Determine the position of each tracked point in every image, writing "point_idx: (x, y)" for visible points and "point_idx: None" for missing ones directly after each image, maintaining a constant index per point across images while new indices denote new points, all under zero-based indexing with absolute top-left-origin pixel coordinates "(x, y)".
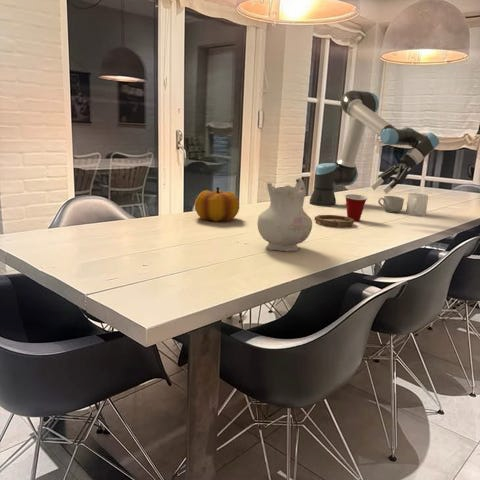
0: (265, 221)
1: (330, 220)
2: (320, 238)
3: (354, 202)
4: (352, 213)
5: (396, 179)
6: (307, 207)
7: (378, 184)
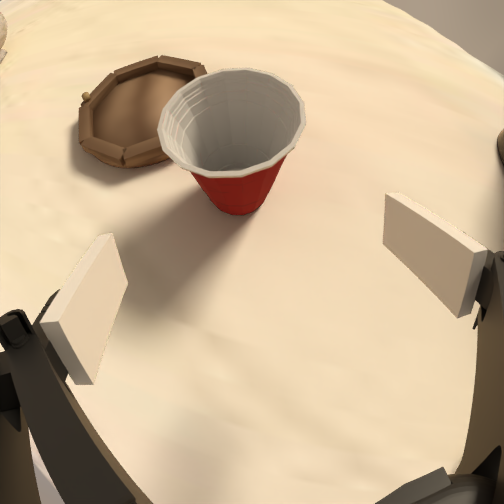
0: None
1: (158, 97)
2: (6, 97)
3: (181, 120)
4: (203, 156)
5: (4, 345)
6: (449, 100)
7: (417, 260)
